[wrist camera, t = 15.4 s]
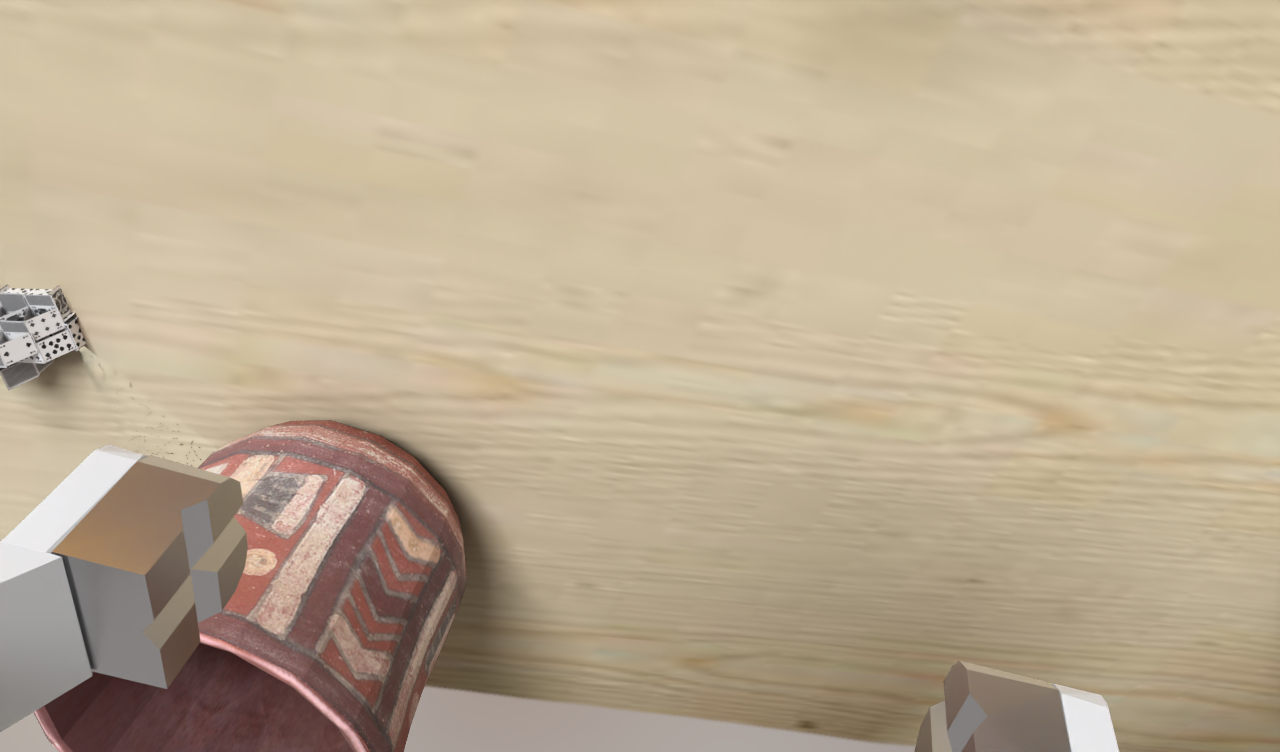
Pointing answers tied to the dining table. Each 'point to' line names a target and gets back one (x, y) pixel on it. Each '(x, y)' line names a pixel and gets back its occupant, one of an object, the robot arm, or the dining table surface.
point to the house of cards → (34, 332)
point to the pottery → (301, 610)
